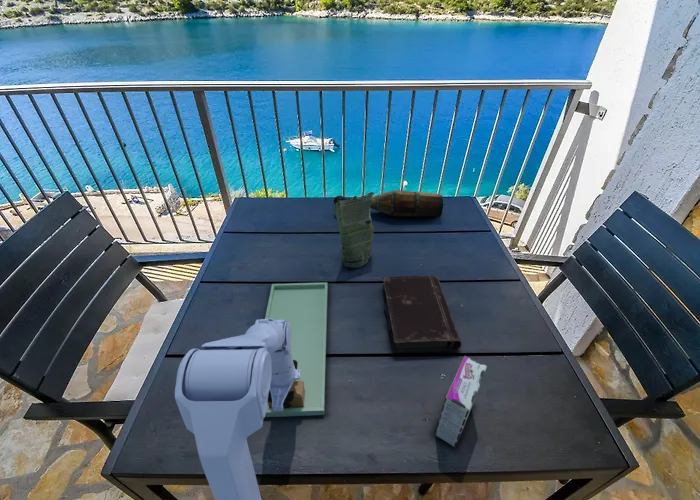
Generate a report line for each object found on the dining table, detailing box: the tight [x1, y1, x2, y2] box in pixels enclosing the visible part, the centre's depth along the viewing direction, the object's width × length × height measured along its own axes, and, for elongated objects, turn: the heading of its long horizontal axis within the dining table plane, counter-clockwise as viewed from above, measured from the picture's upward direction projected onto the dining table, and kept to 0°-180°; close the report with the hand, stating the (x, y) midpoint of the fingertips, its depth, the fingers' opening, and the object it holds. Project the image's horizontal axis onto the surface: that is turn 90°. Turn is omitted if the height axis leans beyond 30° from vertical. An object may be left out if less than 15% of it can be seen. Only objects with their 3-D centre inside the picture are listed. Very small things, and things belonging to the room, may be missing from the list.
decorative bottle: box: [332, 189, 446, 218], centre depth 143 cm, size 11×11×45 cm
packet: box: [267, 381, 305, 408], centre depth 81 cm, size 4×8×4 cm, turn 91°
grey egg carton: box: [434, 355, 488, 448], centre depth 73 cm, size 11×5×16 cm, turn 147°
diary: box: [382, 274, 462, 354], centre depth 101 cm, size 19×25×5 cm
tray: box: [264, 282, 329, 418], centre depth 95 cm, size 42×18×2 cm, turn 2°
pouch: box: [333, 191, 375, 269], centre depth 116 cm, size 11×12×25 cm
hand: (286, 396), depth 81 cm, fingers open, 5 cm apart
